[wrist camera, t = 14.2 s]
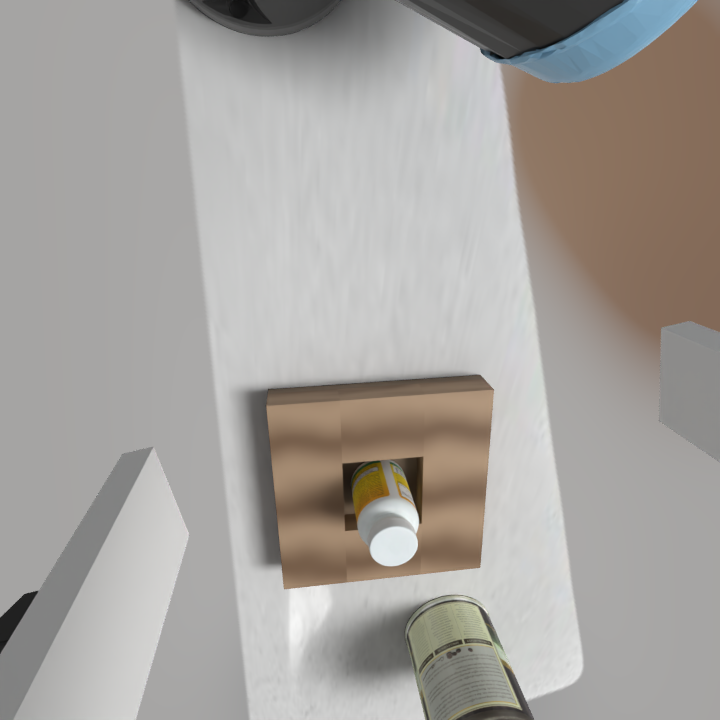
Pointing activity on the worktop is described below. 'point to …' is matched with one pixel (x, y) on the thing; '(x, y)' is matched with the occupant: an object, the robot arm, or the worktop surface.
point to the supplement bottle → (385, 511)
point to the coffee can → (462, 663)
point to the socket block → (371, 443)
